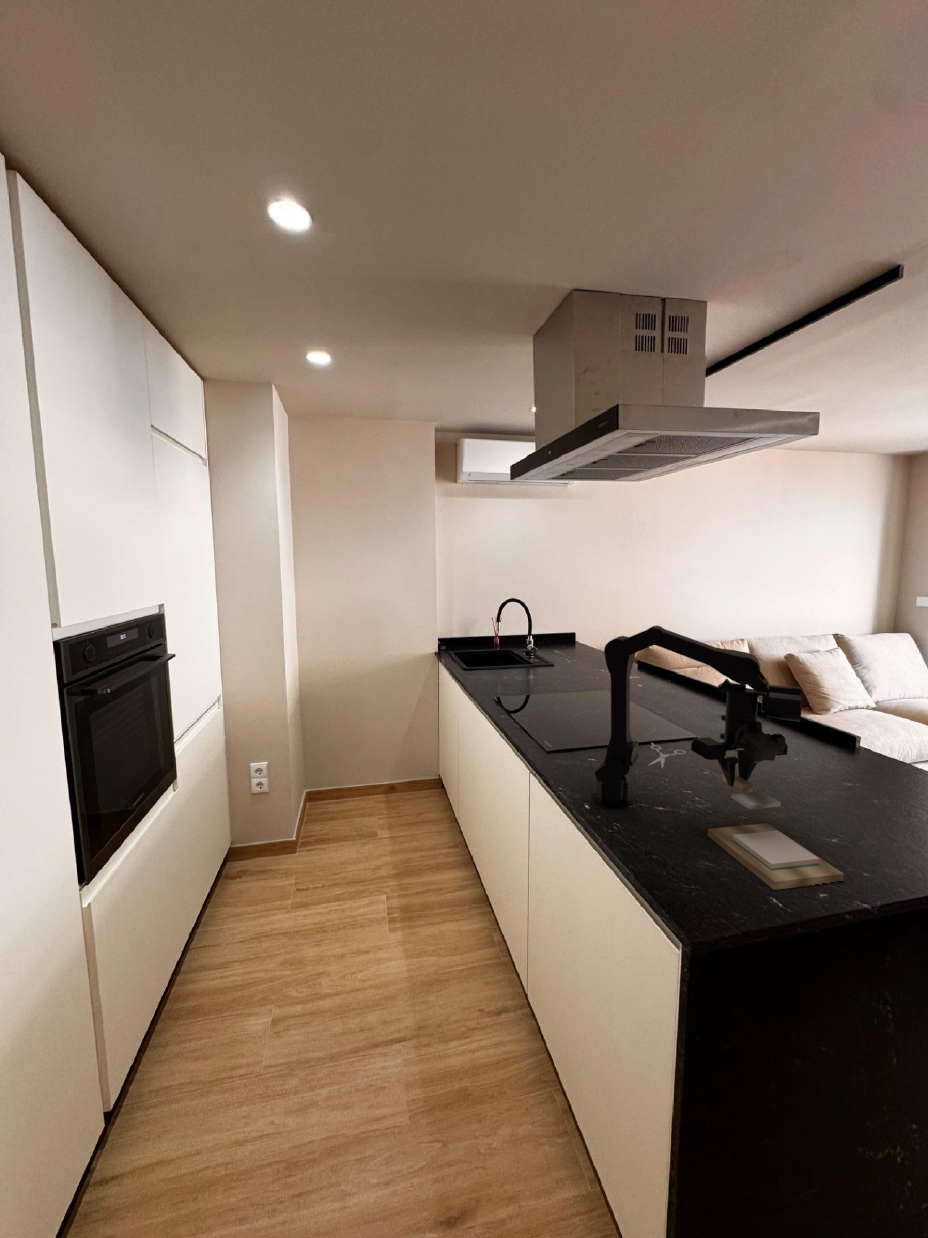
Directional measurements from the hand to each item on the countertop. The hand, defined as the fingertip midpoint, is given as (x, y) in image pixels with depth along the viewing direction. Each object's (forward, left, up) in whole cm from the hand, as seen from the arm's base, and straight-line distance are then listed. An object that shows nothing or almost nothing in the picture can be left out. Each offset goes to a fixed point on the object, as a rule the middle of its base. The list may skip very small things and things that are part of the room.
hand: (736, 785), depth 107 cm
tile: (0, -11, -8) cm, 14 cm away
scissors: (+8, +41, -11) cm, 43 cm away
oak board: (0, -10, -10) cm, 14 cm away
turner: (0, -3, -1) cm, 3 cm away
